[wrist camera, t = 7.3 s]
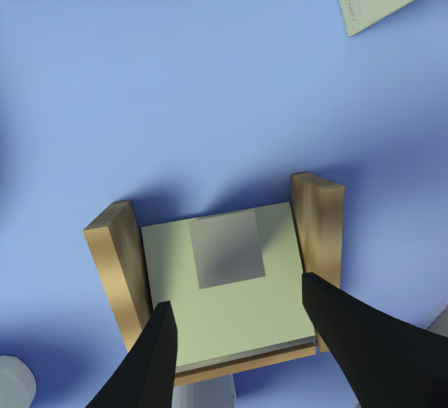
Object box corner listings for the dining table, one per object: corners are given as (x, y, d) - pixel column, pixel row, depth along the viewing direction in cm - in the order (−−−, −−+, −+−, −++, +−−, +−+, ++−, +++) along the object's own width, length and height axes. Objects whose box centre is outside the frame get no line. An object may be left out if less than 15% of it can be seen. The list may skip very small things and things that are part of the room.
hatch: (312, 338, 21) (316, 343, 20) (165, 371, 19) (163, 378, 18) (286, 202, 21) (289, 201, 20) (143, 226, 20) (140, 227, 19)
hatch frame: (307, 304, 26) (336, 349, 20) (153, 337, 24) (143, 394, 19) (306, 171, 21) (344, 186, 15) (112, 202, 19) (82, 230, 14)
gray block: (251, 262, 20) (265, 276, 15) (201, 272, 19) (199, 289, 14) (242, 213, 20) (253, 210, 15) (192, 221, 20) (188, 221, 15)
